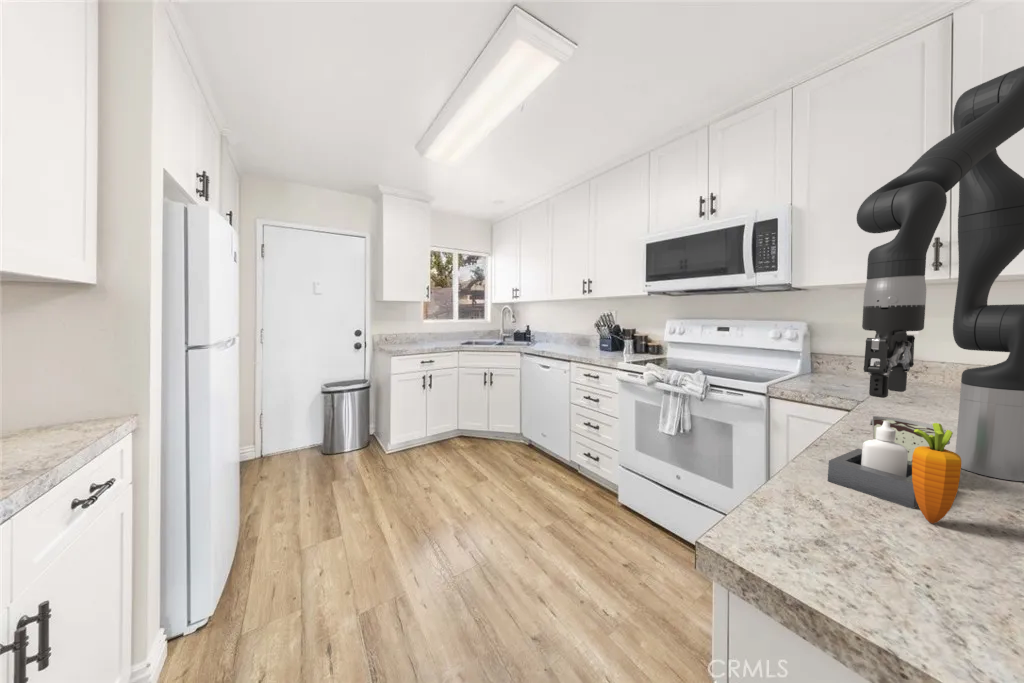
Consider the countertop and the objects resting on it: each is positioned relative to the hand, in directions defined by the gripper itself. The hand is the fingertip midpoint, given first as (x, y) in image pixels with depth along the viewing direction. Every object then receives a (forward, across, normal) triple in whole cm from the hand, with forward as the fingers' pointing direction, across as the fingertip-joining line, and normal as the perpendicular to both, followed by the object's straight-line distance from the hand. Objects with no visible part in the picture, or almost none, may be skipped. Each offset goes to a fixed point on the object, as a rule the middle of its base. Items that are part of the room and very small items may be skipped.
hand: (887, 393), depth 64 cm
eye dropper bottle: (+17, 0, 0) cm, 17 cm away
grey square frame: (+17, 0, 0) cm, 17 cm away
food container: (+18, -12, +1) cm, 21 cm away
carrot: (+17, +10, +8) cm, 22 cm away
